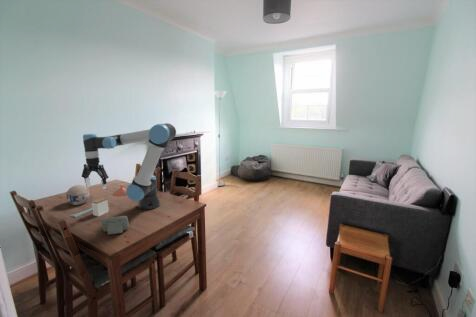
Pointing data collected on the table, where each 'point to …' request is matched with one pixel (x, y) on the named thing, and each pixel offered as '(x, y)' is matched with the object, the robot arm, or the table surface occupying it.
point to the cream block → (100, 206)
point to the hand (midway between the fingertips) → (96, 188)
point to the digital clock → (115, 224)
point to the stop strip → (82, 212)
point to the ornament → (78, 195)
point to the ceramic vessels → (120, 191)
